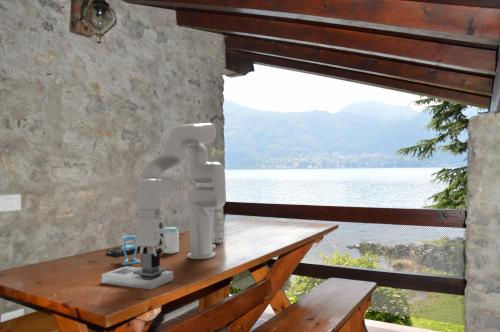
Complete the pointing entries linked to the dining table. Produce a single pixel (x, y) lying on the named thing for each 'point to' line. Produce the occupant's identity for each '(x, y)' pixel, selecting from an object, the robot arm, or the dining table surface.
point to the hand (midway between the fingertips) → (150, 265)
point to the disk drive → (120, 251)
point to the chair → (126, 238)
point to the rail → (135, 278)
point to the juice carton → (217, 224)
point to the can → (172, 240)
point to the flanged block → (149, 266)
